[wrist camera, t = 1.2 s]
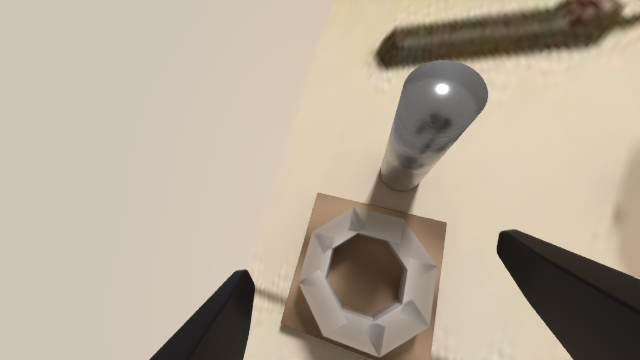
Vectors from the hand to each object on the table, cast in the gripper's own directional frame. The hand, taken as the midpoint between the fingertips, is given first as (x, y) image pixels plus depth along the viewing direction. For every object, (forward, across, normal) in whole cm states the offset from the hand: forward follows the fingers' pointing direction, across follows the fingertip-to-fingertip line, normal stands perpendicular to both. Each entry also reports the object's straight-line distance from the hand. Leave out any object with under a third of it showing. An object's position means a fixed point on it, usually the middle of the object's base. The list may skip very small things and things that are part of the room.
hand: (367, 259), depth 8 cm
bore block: (+9, 0, +11) cm, 14 cm away
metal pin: (+15, -6, +4) cm, 16 cm away
